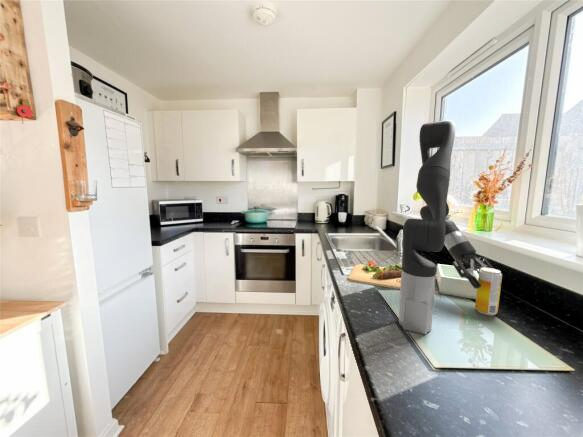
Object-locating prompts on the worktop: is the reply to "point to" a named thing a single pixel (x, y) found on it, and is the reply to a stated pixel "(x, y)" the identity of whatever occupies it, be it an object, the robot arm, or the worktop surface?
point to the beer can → (488, 291)
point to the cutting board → (377, 275)
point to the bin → (454, 282)
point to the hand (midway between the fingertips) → (487, 286)
